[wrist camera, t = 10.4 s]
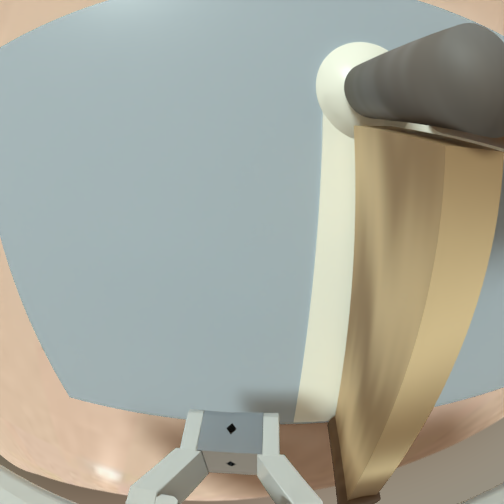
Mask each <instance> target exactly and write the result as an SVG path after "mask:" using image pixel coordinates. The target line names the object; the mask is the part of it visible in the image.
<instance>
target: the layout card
mask: <svg viewBox="0 0 504 504" xmlns="http://www.w3.org/2000/svg"><path fill="white" fill-rule="evenodd" d="M463 23H475V24H478V23H476V22H474V21H471V20H469V19H467V18H464V17H462V16H460V15H457V14H455V13H452V12H449V11H447V10H444V9H441V8H439V7H436V6H433V5H430V4H427V3H424V2H421V1H417V0H108V1H105V2H102V3H98V4H95V5H92V6H90V7H87V8H84V9H81V10H78V11H76V12H73V13H71V14H68V15H65V16H63V17H61V18H58V19H56V20H53V21H51V22H49V23H47V24H44V25H42V26H40V27H38V28H36V29H34V30H32V31H30V32H28V33H26V34H24V35H22V36H20V37H18V38H16V39H14V40H13V41H11V42H9V43H7V44H5V45H4V46H2V47H0V237H1V241H2V244H3V248H4V251H5V255H6V258H7V261H8V264H9V267H10V270H11V273H12V276H13V279H14V282H15V285H16V287H17V290H18V293H19V295H20V298H21V300H22V303H23V306H24V308H25V310H26V313H27V315H28V317H29V320H30V322H31V324H32V327H33V329H34V331H35V333H36V335H37V337H38V340H39V342H40V344H41V346H42V348H43V350H44V352H45V354H46V356H47V358H48V360H49V361H50V363H51V365H52V367H53V369H54V371H55V373H56V374H57V376H58V378H59V380H60V381H61V383H62V385H63V387H64V388H65V390H66V392H67V393H68V395H69V397H71V398H75V399H78V400H82V401H86V402H90V403H94V404H98V405H103V406H107V407H112V408H117V409H122V410H127V411H132V412H137V413H143V414H149V415H156V416H163V417H170V418H178V419H187V415H188V412H189V410H190V409H198V410H207V411H220V412H252V413H279V424H306V423H325V422H329V420H330V419H331V418H333V417H334V416H335V413H336V408H337V402H338V396H339V390H340V384H341V377H342V370H343V363H344V356H345V348H346V340H347V331H348V322H349V312H350V301H351V289H352V275H353V259H354V237H355V143H354V125H355V126H394V127H400V128H406V129H412V130H417V131H422V132H427V133H432V134H437V135H441V136H446V137H450V138H455V139H459V140H463V141H467V142H471V143H474V144H478V145H482V146H485V147H489V148H492V149H496V150H499V151H502V152H504V136H502V137H499V138H489V137H485V136H481V135H476V134H472V133H467V132H462V131H457V130H452V129H446V128H441V127H435V126H429V125H422V124H415V123H408V122H400V121H391V120H382V119H372V118H367V117H364V116H362V115H360V114H358V113H357V112H356V111H355V110H354V109H353V108H352V107H351V106H350V105H349V103H348V101H347V99H346V96H345V92H344V82H345V78H346V76H347V74H348V72H349V71H350V70H351V69H352V68H353V67H355V66H357V65H359V64H361V63H363V62H365V61H368V60H370V59H372V58H374V57H376V56H379V55H381V54H383V53H385V52H388V51H390V50H392V49H395V48H397V47H400V46H402V45H404V44H407V43H409V42H412V41H415V40H417V39H420V38H422V37H425V36H428V35H430V34H433V33H436V32H439V31H442V30H444V29H447V28H450V27H453V26H456V25H459V24H463ZM478 25H480V24H478ZM481 26H482V25H481ZM486 28H487V27H486ZM487 29H489V28H487ZM489 30H491V29H489ZM491 31H492V32H493V33H495V34H496V35H497V36H498V37H499V38H500V39H501V40H502V41H503V42H504V36H502V35H500V34H499V33H497V32H495V31H493V30H491ZM503 387H504V161H503V175H502V186H501V195H500V203H499V210H498V216H497V223H496V228H495V234H494V239H493V244H492V249H491V253H490V258H489V262H488V266H487V270H486V274H485V278H484V281H483V285H482V289H481V292H480V295H479V299H478V302H477V305H476V308H475V311H474V314H473V317H472V320H471V323H470V326H469V329H468V331H467V334H466V337H465V339H464V342H463V345H462V347H461V350H460V352H459V354H458V357H457V359H456V362H455V364H454V366H453V368H452V371H451V373H450V375H449V377H448V379H447V382H446V384H445V386H444V388H443V390H442V392H441V394H440V396H439V398H438V400H437V402H436V404H435V406H434V407H436V406H440V405H444V404H449V403H453V402H456V401H460V400H464V399H468V398H471V397H475V396H478V395H481V394H485V393H488V392H491V391H494V390H497V389H500V388H503Z"/></svg>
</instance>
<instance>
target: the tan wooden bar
mask: <svg viewBox="0 0 504 504" xmlns="http://www.w3.org/2000/svg"><path fill="white" fill-rule="evenodd" d="M344 92H345V96H346V99H347V101H348V103H349V105H350V106H351V107H352V108H353V109H354V110H355V111H356V112H357V113H358V114H360V115H362V116H364V117H367V118H372V119H382V120H391V121H400V122H408V123H415V124H422V125H429V126H435V127H441V128H446V129H452V130H457V131H462V132H467V133H472V134H476V135H481V136H485V137H489V138H499V137H502V136H504V42H503V41H502V40H501V39H500V38H499V37H498V36H497V35H496V34H495V33H493V32H492V31H491V30H489V29H487V28H486V27H484V26H481V25H478V24H475V23H463V24H459V25H456V26H453V27H450V28H447V29H444V30H442V31H439V32H436V33H433V34H430V35H428V36H425V37H422V38H420V39H417V40H415V41H412V42H409V43H407V44H404V45H402V46H400V47H397V48H395V49H392V50H390V51H388V52H385V53H383V54H381V55H379V56H376V57H374V58H372V59H370V60H368V61H365V62H363V63H361V64H359V65H357V66H355V67H353V68H352V69H351V70H350V71H349V72H348V74H347V76H346V78H345V82H344ZM354 143H355V237H354V259H353V275H352V289H351V301H350V312H349V322H348V331H347V340H346V348H345V356H344V363H343V370H342V377H341V384H340V390H339V396H338V402H337V408H336V413H335V416H334V417H333V418H331V419H330V420H329V422H328V431H329V439H330V446H331V454H332V461H333V469H334V478H335V486H336V495H337V504H374V503H376V502H378V501H379V500H380V493H379V491H380V490H381V489H382V487H383V486H384V485H385V483H386V482H387V481H388V479H389V478H390V477H391V475H392V474H393V472H394V471H395V470H396V468H397V467H398V465H399V464H400V462H401V461H402V459H403V458H404V456H405V455H406V453H407V452H408V450H409V449H410V447H411V445H412V444H413V442H414V441H415V439H416V437H417V436H418V434H419V432H420V431H421V429H422V427H423V426H424V424H425V422H426V420H427V419H428V417H429V415H430V413H431V411H432V409H433V408H434V406H435V404H436V402H437V400H438V398H439V396H440V394H441V392H442V390H443V388H444V386H445V384H446V382H447V379H448V377H449V375H450V373H451V371H452V368H453V366H454V364H455V362H456V359H457V357H458V354H459V352H460V350H461V347H462V345H463V342H464V339H465V337H466V334H467V331H468V329H469V326H470V323H471V320H472V317H473V314H474V311H475V308H476V305H477V302H478V299H479V295H480V292H481V289H482V285H483V281H484V278H485V274H486V270H487V266H488V262H489V258H490V253H491V249H492V244H493V239H494V234H495V228H496V223H497V216H498V210H499V203H500V195H501V186H502V175H503V161H504V152H502V151H499V150H496V149H492V148H489V147H485V146H482V145H478V144H474V143H471V142H467V141H463V140H459V139H455V138H450V137H446V136H441V135H437V134H432V133H427V132H422V131H417V130H412V129H406V128H400V127H394V126H355V125H354Z"/></svg>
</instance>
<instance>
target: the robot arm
mask: <svg viewBox="0 0 504 504" xmlns="http://www.w3.org/2000/svg"><path fill="white" fill-rule="evenodd" d="M208 472H213V473H231V474H245V475H257V477H258V478H259V480H260V481H261V483H262V484H263V486H264V488H265V489H266V491H267V492H268V494H269V495H270V497H271V498H272V500H273V501H274V503H275V504H323V501H322V500H321V499H320V498H319V497H318V495H317V494H316V493H315V492H314V491H313V489H312V488H311V487H310V486H309V485H308V483H307V482H306V481H305V480H304V479H303V477H302V476H301V475H300V474H299V472H298V471H297V470H296V469H295V468H294V466H293V465H292V464H291V463H290V461H289V460H288V459H287V457H286V456H285V455H282V454H280V432H279V413H252V412H220V411H207V410H198V409H190V410H189V412H188V415H187V419H186V423H185V428H184V432H183V436H182V441H181V445H180V448H175V449H174V450H173V451H171V452H170V453H169V454H168V455H167V456H166V457H165V458H164V459H162V460H161V461H160V462H159V463H158V464H157V465H155V466H154V467H153V468H152V469H151V470H150V471H148V472H147V473H146V474H145V475H144V476H142V477H141V478H140V479H139V480H137V481H136V482H135V483H134V484H133V485H131V486H130V490H129V493H128V497H127V500H126V504H181V503H182V502H183V501H184V500H185V499H186V498H187V497H188V496H189V495H190V494H191V493H192V491H193V490H194V489H195V488H196V487H197V486H198V485H199V484H200V483H201V481H202V480H203V479H204V478H205V477H206V476H207V475H208V474H209V473H208ZM0 504H77V503H75V502H72V501H70V500H67V499H65V498H63V497H60V496H58V495H56V494H54V493H52V492H50V491H48V490H46V489H43V488H41V487H39V486H37V485H35V484H34V483H32V482H30V481H28V480H26V479H24V478H22V477H20V476H19V475H17V474H15V473H13V472H12V471H10V470H8V469H7V468H5V467H3V466H2V465H0ZM458 504H504V482H503V483H501V484H500V485H498V486H496V487H494V488H492V489H490V490H488V491H486V492H483V493H481V494H479V495H477V496H475V497H473V498H470V499H468V500H466V501H463V502H461V503H458Z"/></svg>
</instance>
